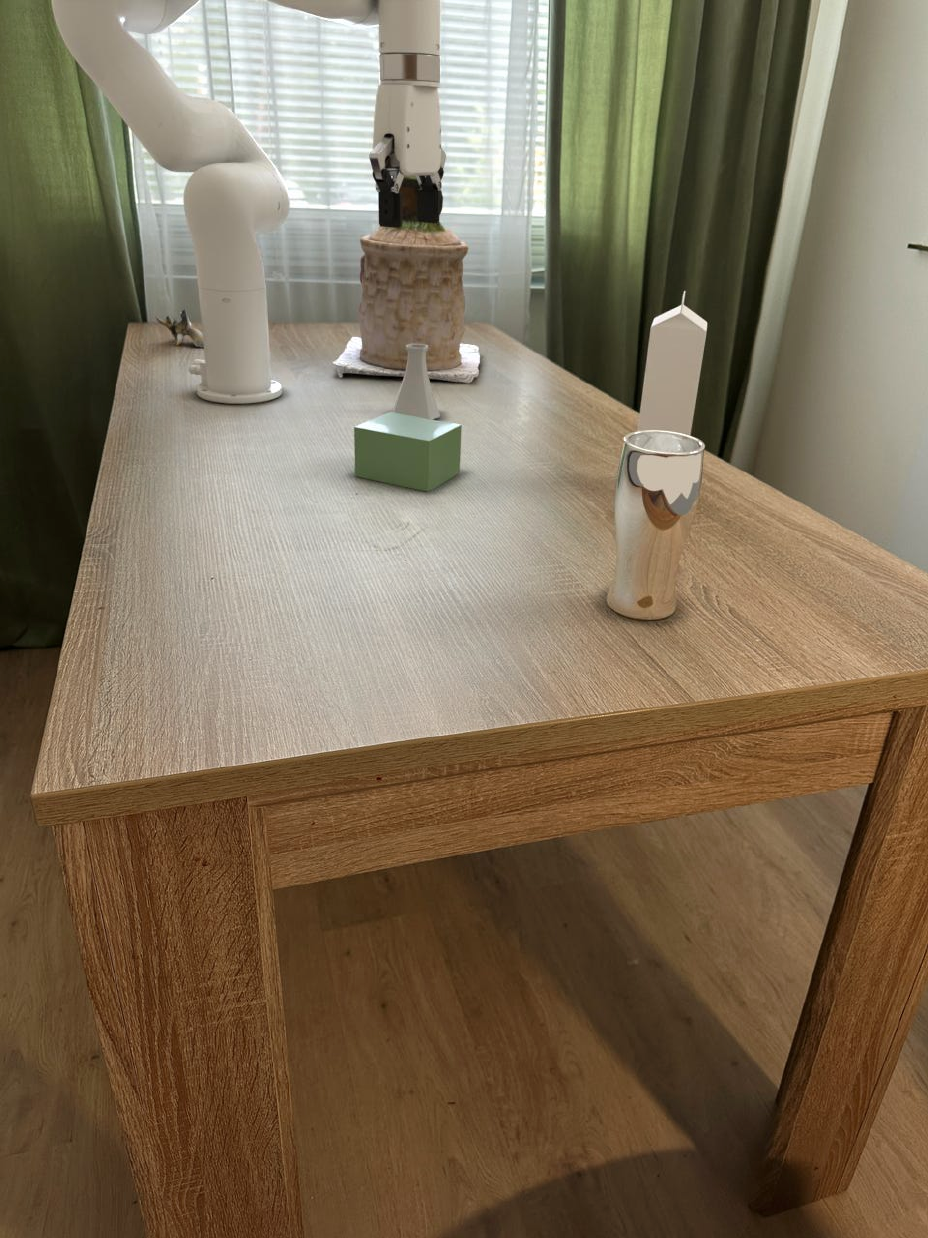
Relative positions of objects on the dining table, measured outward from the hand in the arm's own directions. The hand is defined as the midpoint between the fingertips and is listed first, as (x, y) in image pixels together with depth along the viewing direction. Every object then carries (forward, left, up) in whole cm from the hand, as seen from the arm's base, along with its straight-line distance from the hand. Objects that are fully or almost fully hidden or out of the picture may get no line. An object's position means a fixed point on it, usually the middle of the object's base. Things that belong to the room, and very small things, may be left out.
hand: (409, 224), depth 121 cm
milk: (+40, -9, -26) cm, 48 cm away
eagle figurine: (-58, +19, -26) cm, 67 cm away
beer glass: (+48, -41, -26) cm, 68 cm away
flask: (+1, +1, -26) cm, 26 cm away
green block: (+13, -22, -26) cm, 36 cm away
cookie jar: (-16, +29, -26) cm, 42 cm away
